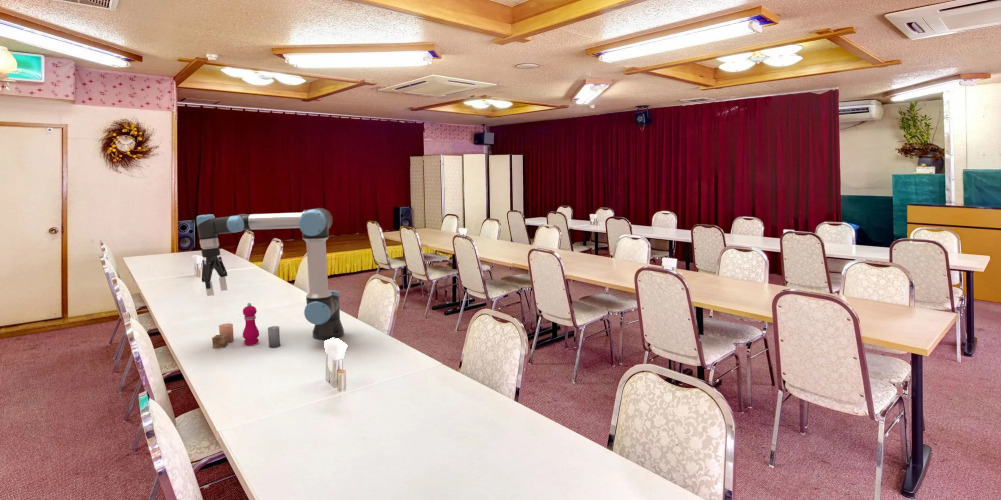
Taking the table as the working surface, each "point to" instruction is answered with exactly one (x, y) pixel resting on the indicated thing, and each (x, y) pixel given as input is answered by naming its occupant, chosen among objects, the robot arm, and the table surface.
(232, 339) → the peach round cylinder
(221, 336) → the walnut block
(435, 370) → the table surface
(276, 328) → the charcoal salt shaker
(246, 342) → the pepper mill
